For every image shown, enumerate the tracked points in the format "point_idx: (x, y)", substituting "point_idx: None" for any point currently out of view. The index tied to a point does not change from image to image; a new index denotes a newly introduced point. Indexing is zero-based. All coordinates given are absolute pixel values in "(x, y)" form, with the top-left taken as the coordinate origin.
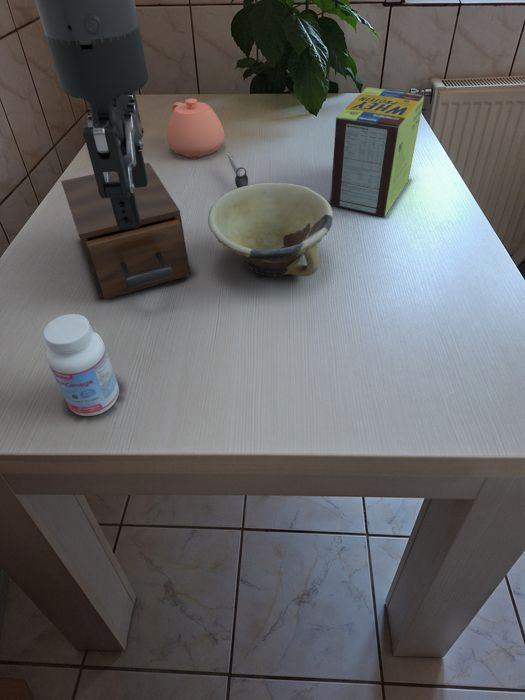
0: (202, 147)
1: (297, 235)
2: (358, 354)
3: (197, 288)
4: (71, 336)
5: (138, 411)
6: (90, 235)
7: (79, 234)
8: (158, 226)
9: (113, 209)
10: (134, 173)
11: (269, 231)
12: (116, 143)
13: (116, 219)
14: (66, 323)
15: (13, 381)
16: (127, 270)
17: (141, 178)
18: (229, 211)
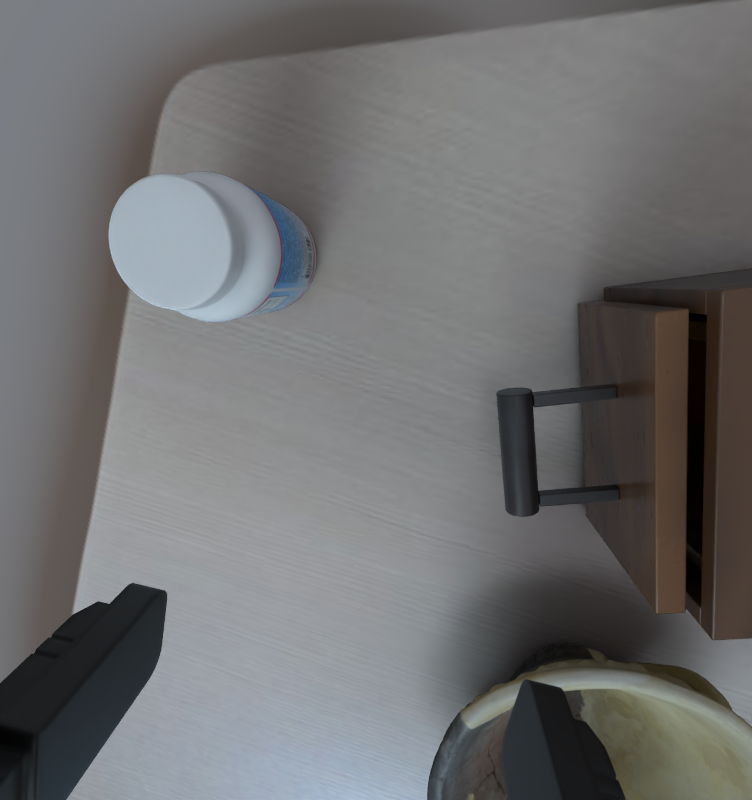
0: None
1: None
2: (251, 716)
3: (544, 518)
4: (130, 258)
5: (212, 340)
6: (711, 330)
7: (721, 293)
8: (668, 551)
9: (68, 649)
10: (528, 782)
11: (641, 747)
12: None
13: (103, 611)
14: (190, 244)
15: (365, 66)
16: (564, 401)
17: (515, 774)
18: (709, 730)
